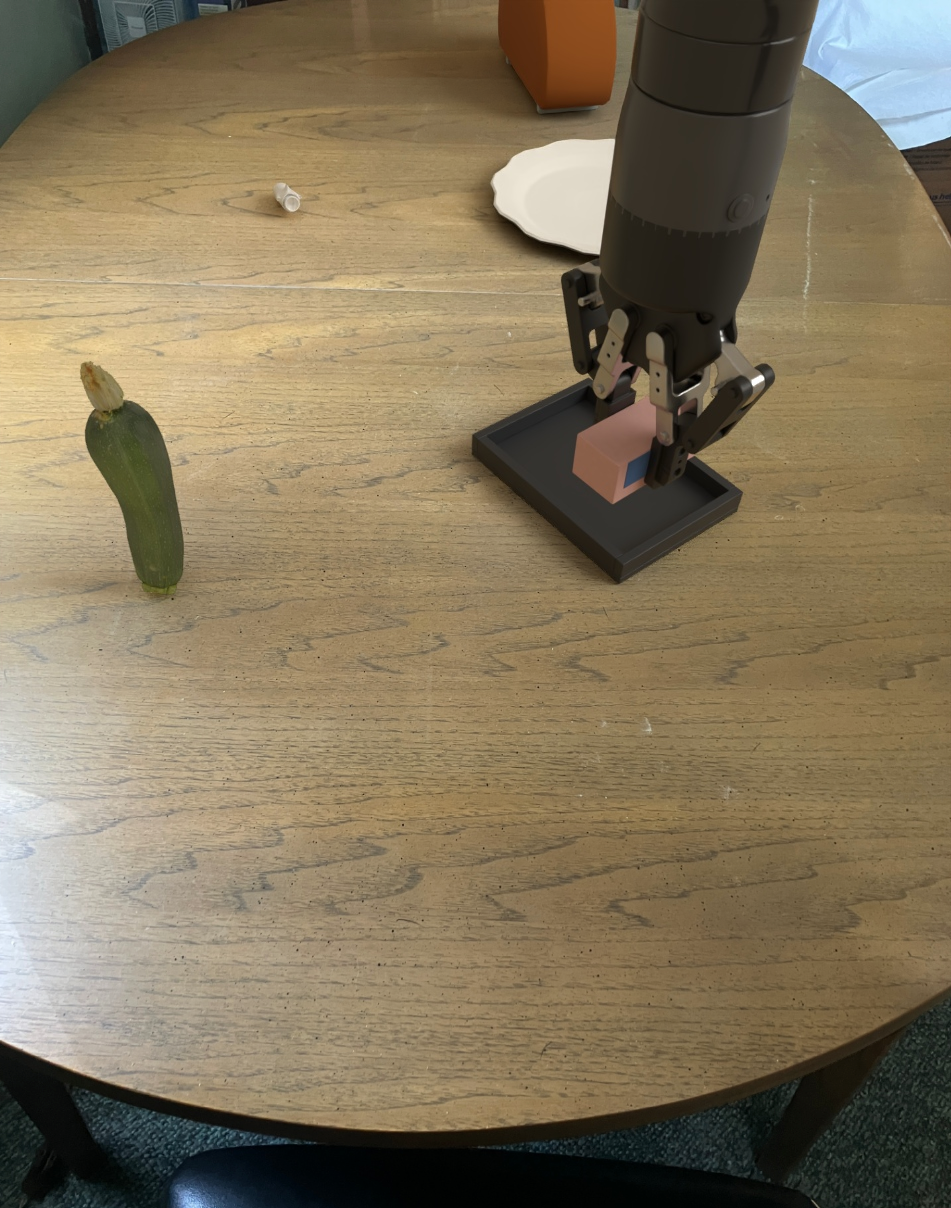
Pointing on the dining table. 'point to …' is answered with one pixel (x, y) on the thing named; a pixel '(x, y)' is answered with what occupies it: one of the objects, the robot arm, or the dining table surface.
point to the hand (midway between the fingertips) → (634, 460)
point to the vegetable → (136, 479)
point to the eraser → (617, 451)
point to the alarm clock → (561, 50)
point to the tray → (598, 528)
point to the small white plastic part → (286, 197)
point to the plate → (558, 192)
